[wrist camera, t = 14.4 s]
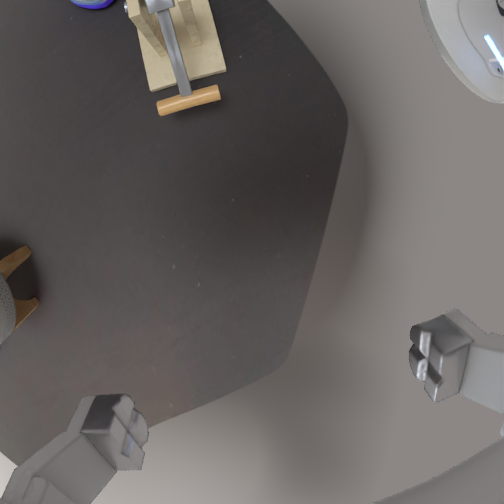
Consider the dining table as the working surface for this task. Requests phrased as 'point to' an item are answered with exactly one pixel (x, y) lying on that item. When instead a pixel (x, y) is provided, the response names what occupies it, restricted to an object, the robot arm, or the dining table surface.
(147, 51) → the bracket
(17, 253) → the planter
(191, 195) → the dining table surface
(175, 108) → the lever
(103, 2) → the bottle
